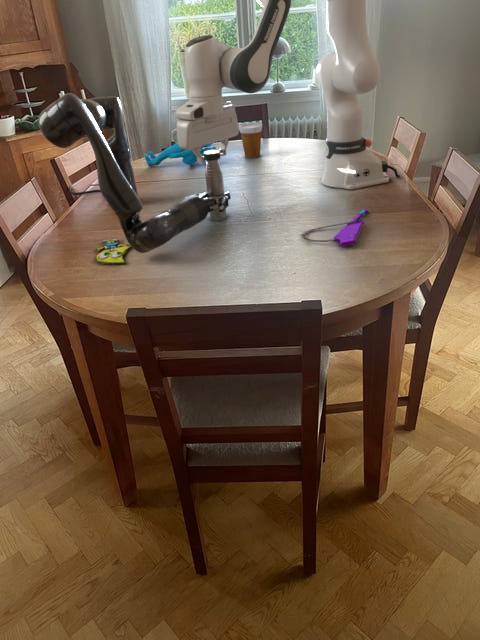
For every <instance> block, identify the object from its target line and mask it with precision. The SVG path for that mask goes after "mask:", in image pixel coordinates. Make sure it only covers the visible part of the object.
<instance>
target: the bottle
mask: <svg viewBox="0 0 480 640" xmlns="http://www.w3.org/2000/svg"><path fill="white" fill-rule="evenodd" d="M204 175H205V185H206V193H207V194H208V198H210V197H213V196H216V197H218V196H221V195H223V194H224V193H225V186H224V185H225V184H224V176H223V175H224V174H223V170H222V167H221V164H220V161H219V159H218V160H213V161H207V160H206V162H205V171H204ZM213 201H214V200H213ZM218 202H220V199H219V200H218ZM227 216H228V215H227V208H226V209H225V210H224V211H223V212H219V209H215V210H213V211H211V212H209V218H210V220H211V221H216V222H217V221H223V220H226V219H227Z"/></svg>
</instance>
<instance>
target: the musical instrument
mask: <svg viewBox="0 0 480 640" xmlns="http://www.w3.org/2000/svg"><path fill="white" fill-rule="evenodd" d="M367 214H369V210H368V209H367V208H364V209H362V210H361V211H359V212H358V214H357V215H356V216H355V217H353V219H352V220H350V221H347V222H342V223H337V224H330V225H325V226H320V227H316V228H312V229H310V230H307V231H305V232H304V233H302V234H301V238H302V239H304V240H305V241H309V242H313V243H314V242H316V243H328V242H336V243H339V244H340V246H341V247H342V248H343V247H347V246H348V247H349V246H354V245H355V244H356V242H357V240H358V238H359V236H360V235H361V234H360V233H361V232H362V229H363V227H364V224H365V220H362V219H361V218H363V217H364V216H365V215H367ZM340 225H345V226H344V227H343V228H342V229H340V231H338V233H336V235H334V236H333V239H311V238H308V237H306V235H307V234H308V233H311V232H314V231H316V230H320V229H324V228H330V227H336V226H340Z"/></svg>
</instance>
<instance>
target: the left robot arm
mask: <svg viewBox="0 0 480 640" xmlns="http://www.w3.org/2000/svg"><path fill="white" fill-rule="evenodd" d="M37 119H38V121H37V122H38V127H39V130H40V132H41V134H42V135H43V137H44V138H45V139H46V140H47V142H49V143H50V144H52V145H53V146H55V147H57V148H61V149H67V148H70V147H71V146H73V145H75V144H77V142H79V141H80V140H82V139H86V138H87V139H88V141H89V142H90V145H91V147H92V150H93V154H94V158H95V163H96V173H97V181H98V183H97V184H98V187H99V189H91V190H86V191H79V192H75V191H73V190H72V186H70V185H69V186H68V192H69V193H70V194H71V195H73V196H81V195H88V194H93V193H101V194H102V197H103V198H104V200H105V201H106V203H107V204H108V205H109V207H110V209H111V210H112V212H114V215H116V216H117V219H118V221H119V224H120V227H121V230H122V232H123V234H124V237H125V239H126V241H127V244H128V245H129V246H131V247H132V248H131V249H132V250H134V251H135V252H137V253H140V254H147V253H149V252H152V251H153V250H155V249H157V248H159V247H162V246H163V245H165V244H167V243H168V242H170V241H171V240H172V239H174V237H176V236H178V235H180V234H181V233H183V232H185V231H188V230H189V229H192V228H193V227H194V226H197V225H198V224H200V223H202V222H203V221H205V219H206V218H207V216H208V214H209V213H210V212H211V211H213V210H215V209H219V212H223V211H224V210H225V209H226V210H227V208H228V207H229V205H230V203H229V200H231V192H230V191H226V192H224V194H223V195H221V196H218V197H216V196H213V197H210V198H208V194H207V192H202V193H200V192H197V193H193V194H191V195H188V196H185V197H183V198H182V200H180V201H178V202H177V203H175V204H174V205H172V206H171V207H169V208H168V209H165V210H164V211H162V212H161V213H159V214H157V215H155V216H153V217H151V218H149V219H147V220H144V221H143V222H142V219H141V217H140V212H142V211H143V209H144V203H143V202H142V200H141V198H140V197H139V194H138V188H137V183H136V178H135V173H134V169H133V164H132V158H131V154H130V148H129V144H128V143H129V142H128V137H127V132H126V126H125V119H124V112H123V106H122V103H121V100H120V99H119V97H117V95H116V96H115V95H111V96H109V95H108V96H99V97H92V98H79V96H77V95H76V94H74V93H72V92H67V93H65V94H63V95H62V96H60V97H59V98H58V99H56V100H55V101H53V102H52V103H51V104H49V105H48V106H47V107H46V108H44V109H43V110H42V111H41V112H40V114H38V118H37ZM105 130H106V131H107V130H113V134H112V135H111V136H110V137H108V138H107V139H105V137H104V135H103V134H102V131H105ZM219 199H220V202H218V200H219ZM213 200H214V201H213Z"/></svg>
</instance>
